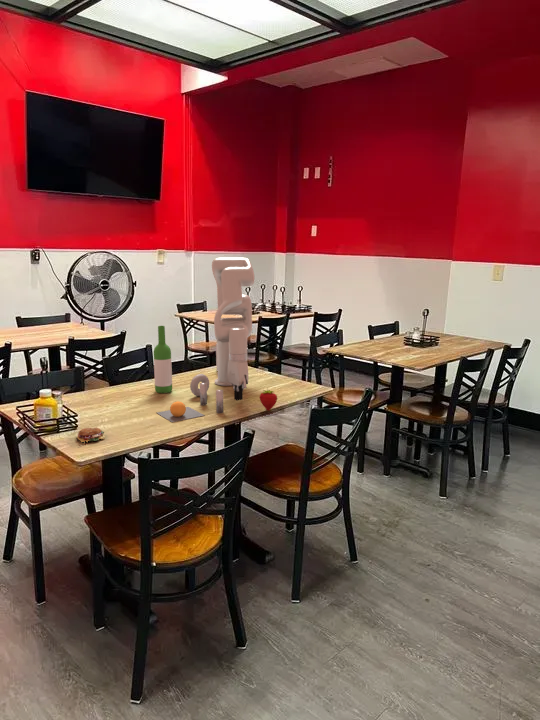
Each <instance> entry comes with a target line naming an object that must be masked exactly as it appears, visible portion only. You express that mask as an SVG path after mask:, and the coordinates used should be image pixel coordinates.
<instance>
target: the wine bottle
mask: <svg viewBox="0 0 540 720" xmlns="http://www.w3.org/2000/svg"><path fill="white" fill-rule="evenodd" d="M157 332H158V334H157V337H158V339H157V340H158V343H157V345H156V346H155V347H154V349H153V369H154V370H153V371H154V390H155V393H158V394H168V393H171V392H172V391H173V371H172V370H173V369H172V367H173V366H172V349H171V347H170V346H169V345H167V343H166V328H165V325H158V326H157Z"/></svg>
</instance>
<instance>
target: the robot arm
mask: <svg viewBox="0 0 540 720" xmlns="http://www.w3.org/2000/svg"><path fill="white" fill-rule="evenodd" d="M211 270H212V275H213V277H214V279H215V284H216V288H217V289H216V290H217V291H216V292H217V295H216V297H217V299H216V300H217V310H216V311H215V314H214V317H213V318H214V319H213V324H214V327H213V328H214V336H215V340H216V344H217V362H218V372H217V378H215V379H214V384H215V385H217V386H225V387H228V386H229V387H231V386H232V387H233V395H234V396H233V397H234V400H235V401H237V402H238V401H243V399H244V397H243V395H244V393H243V392H244V390H245V389H247V387H248V386H247V385H248V384H249V366H248V365H249V364H248V338H249V337H250V336H251V335H252V331H253V328H252V327H253V313H252V312H253V310H252V309H253V308H252V299H251V297H250V296H249V295H247V294H243V291H242V289H243V287H253V286H254V283H255V272H254V268H253V264H252V262H251V260H250V259H249V258H247V257H217V258H214V259H213V260H212V262H211ZM225 315H226V316H231V315H232V316H235V315H237V316H239V315H240V316H241V317H223V316H225Z"/></svg>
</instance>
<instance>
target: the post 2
mask: <svg viewBox="0 0 540 720" xmlns="http://www.w3.org/2000/svg"><path fill="white" fill-rule="evenodd" d="M215 400H216V401H215V402H216V403H215V407H216V408H215V412H216V413H217V414H223V413H224V390H223V389H216V390H215Z"/></svg>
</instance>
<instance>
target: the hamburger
mask: <svg viewBox="0 0 540 720" xmlns="http://www.w3.org/2000/svg"><path fill="white" fill-rule="evenodd" d="M104 433H105V432H104V431H103V430H102V429H101V428H100V427H85V428H82V429H80V430H79V431H78V433H77V434H76V436H77V437H76V439H77V440H79V441H80V442H81V443H82V442H85V441H86V442H87V443H88V441H91V442H95V441H100V440H99V439H101V440H104V438H105V439H106V436H105V435H104Z"/></svg>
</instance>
